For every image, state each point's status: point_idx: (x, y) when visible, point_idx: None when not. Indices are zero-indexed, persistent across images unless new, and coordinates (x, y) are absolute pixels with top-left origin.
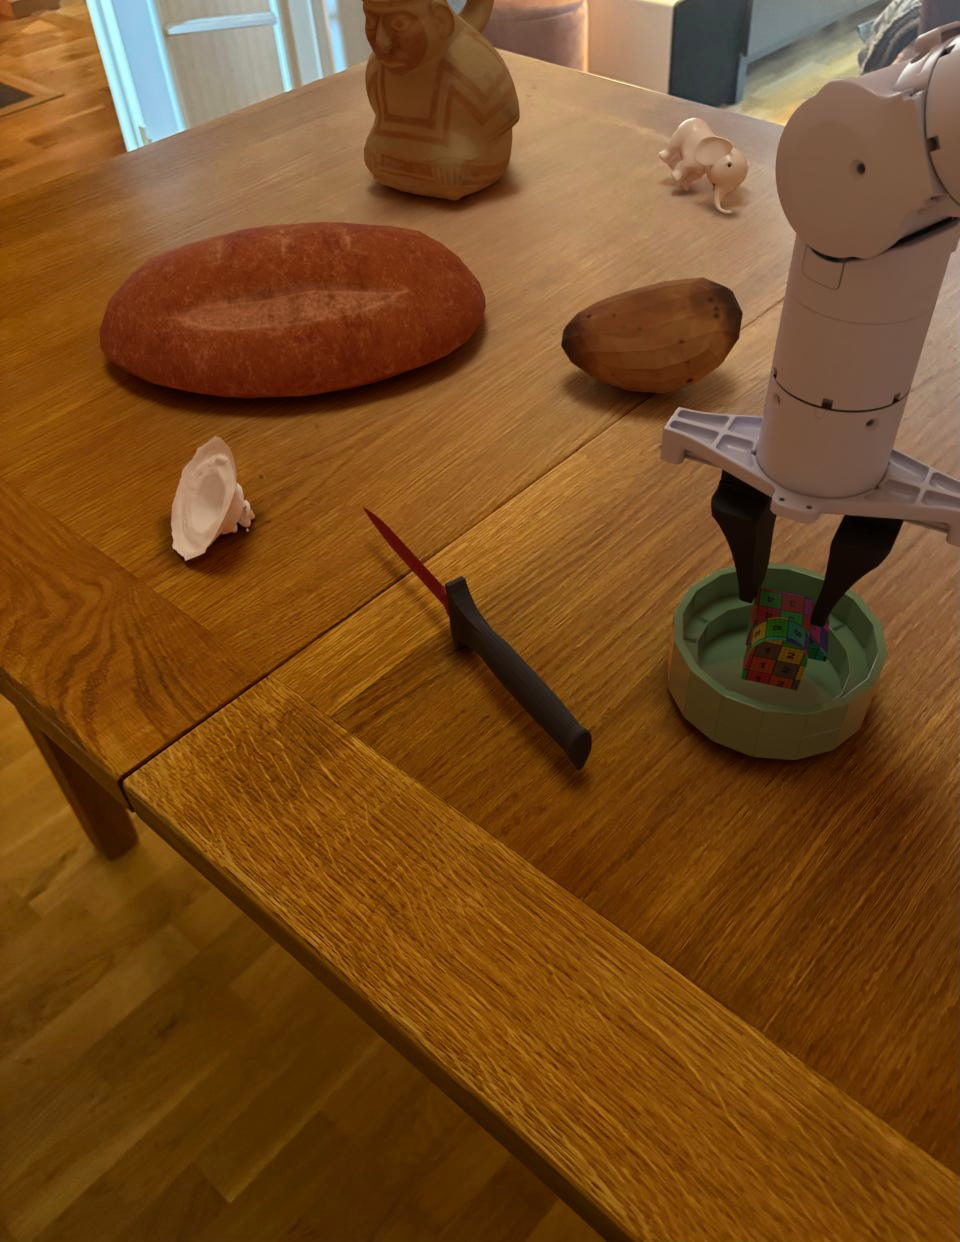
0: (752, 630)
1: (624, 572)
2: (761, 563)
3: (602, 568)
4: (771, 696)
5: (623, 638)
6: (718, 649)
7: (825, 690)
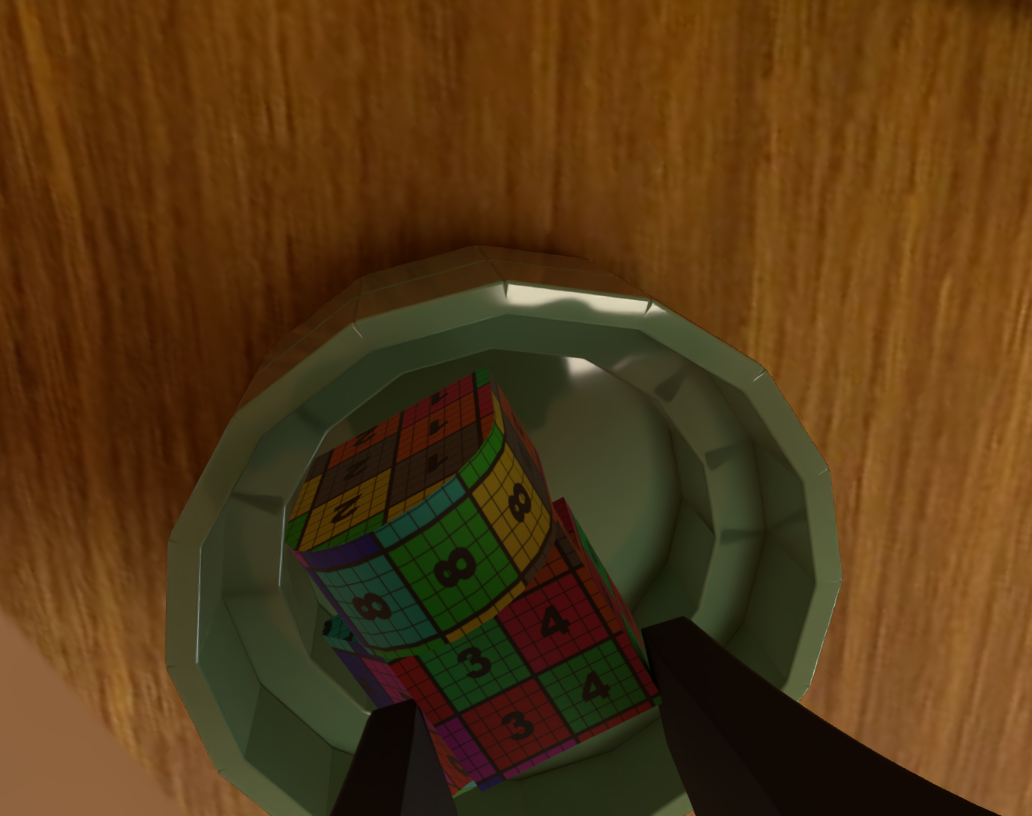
0: (557, 521)
1: (967, 555)
2: (716, 796)
3: (1019, 529)
4: None
5: (861, 384)
6: (647, 510)
7: None
